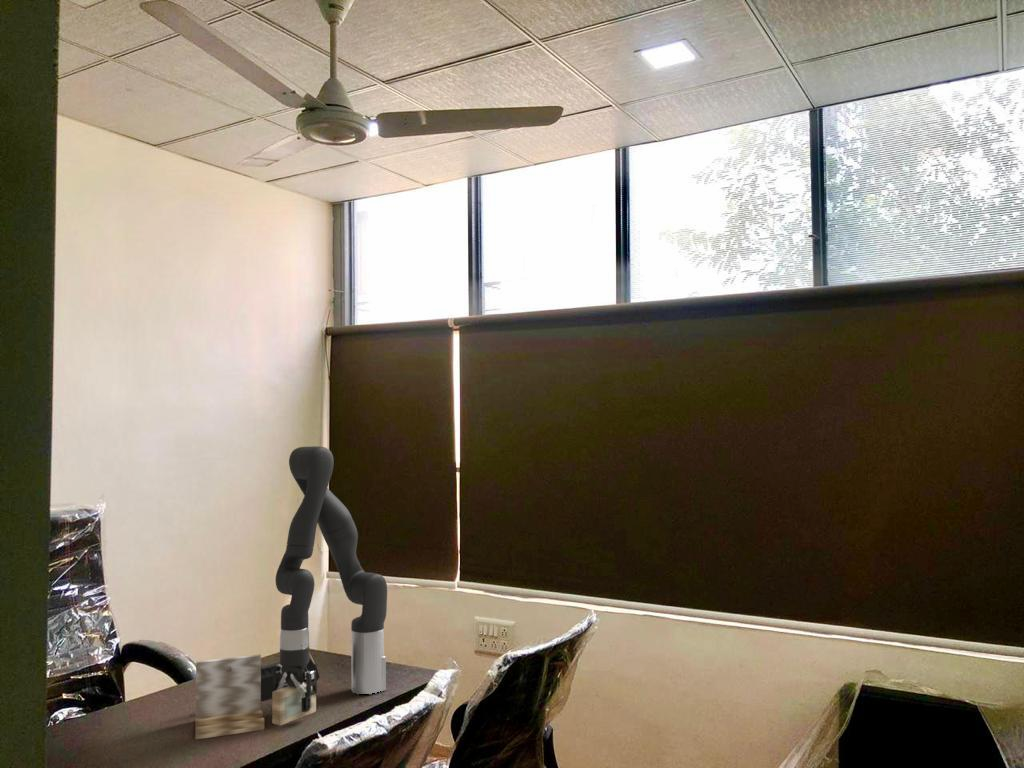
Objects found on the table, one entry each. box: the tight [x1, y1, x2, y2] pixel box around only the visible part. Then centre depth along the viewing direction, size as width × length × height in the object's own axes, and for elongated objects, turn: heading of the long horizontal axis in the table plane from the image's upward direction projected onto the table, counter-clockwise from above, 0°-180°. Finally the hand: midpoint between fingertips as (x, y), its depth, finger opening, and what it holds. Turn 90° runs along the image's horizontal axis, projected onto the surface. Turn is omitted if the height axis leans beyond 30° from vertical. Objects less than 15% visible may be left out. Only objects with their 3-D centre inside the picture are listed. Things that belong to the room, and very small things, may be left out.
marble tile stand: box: [194, 654, 265, 740], centre depth 202 cm, size 16×14×15 cm
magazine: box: [261, 652, 320, 702], centre depth 222 cm, size 17×3×30 cm
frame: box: [271, 682, 317, 726], centre depth 207 cm, size 12×3×8 cm, turn 147°
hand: (294, 708), depth 206 cm, fingers open, 8 cm apart
